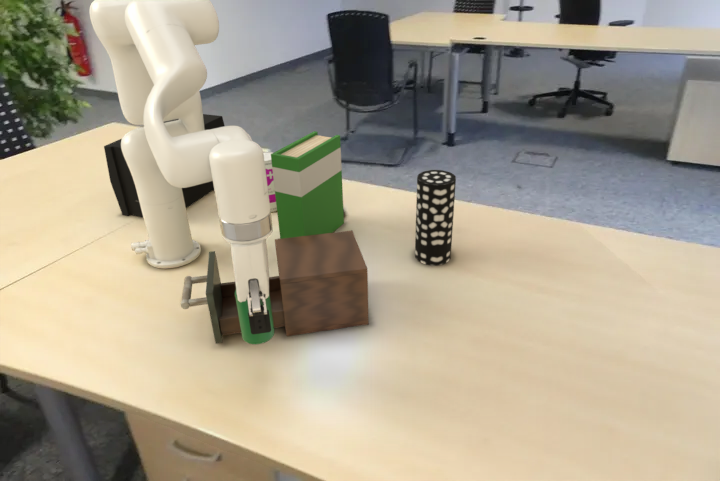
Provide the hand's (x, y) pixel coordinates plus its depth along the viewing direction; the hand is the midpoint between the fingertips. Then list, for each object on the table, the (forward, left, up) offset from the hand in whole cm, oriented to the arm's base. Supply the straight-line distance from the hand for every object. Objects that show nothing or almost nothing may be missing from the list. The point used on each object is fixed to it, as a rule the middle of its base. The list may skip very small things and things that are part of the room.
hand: (260, 319), depth 90 cm
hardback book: (+14, +47, -11) cm, 50 cm away
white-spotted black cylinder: (+40, +30, -11) cm, 51 cm away
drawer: (-4, +16, -11) cm, 20 cm away
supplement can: (+4, +66, -11) cm, 67 cm away
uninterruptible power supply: (-21, +81, -11) cm, 85 cm away
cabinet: (+12, +16, -11) cm, 23 cm away
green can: (-1, 0, -3) cm, 3 cm away
